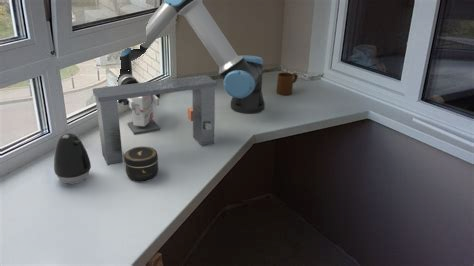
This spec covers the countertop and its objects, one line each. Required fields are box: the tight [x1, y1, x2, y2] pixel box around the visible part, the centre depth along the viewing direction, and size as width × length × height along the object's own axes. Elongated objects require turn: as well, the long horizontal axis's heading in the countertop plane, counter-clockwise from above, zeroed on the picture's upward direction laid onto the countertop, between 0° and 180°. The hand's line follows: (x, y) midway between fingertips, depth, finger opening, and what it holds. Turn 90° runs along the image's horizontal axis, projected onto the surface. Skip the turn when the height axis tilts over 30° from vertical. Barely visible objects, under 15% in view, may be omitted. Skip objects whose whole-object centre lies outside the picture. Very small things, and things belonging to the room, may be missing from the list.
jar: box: [123, 146, 159, 183], centre depth 127 cm, size 10×10×8 cm
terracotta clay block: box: [187, 106, 212, 130], centre depth 149 cm, size 16×4×4 cm, turn 28°
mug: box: [276, 72, 298, 96], centre depth 202 cm, size 12×8×9 cm, turn 129°
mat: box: [127, 118, 161, 136], centre depth 161 cm, size 10×10×1 cm
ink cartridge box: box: [130, 95, 154, 126], centre depth 157 cm, size 9×5×15 cm, turn 168°
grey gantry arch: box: [92, 74, 218, 166], centre depth 140 cm, size 9×39×24 cm, turn 118°
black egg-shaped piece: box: [53, 132, 92, 185], centre depth 122 cm, size 10×10×15 cm
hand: (145, 103), depth 152 cm, fingers closed on ink cartridge box, 9 cm apart
